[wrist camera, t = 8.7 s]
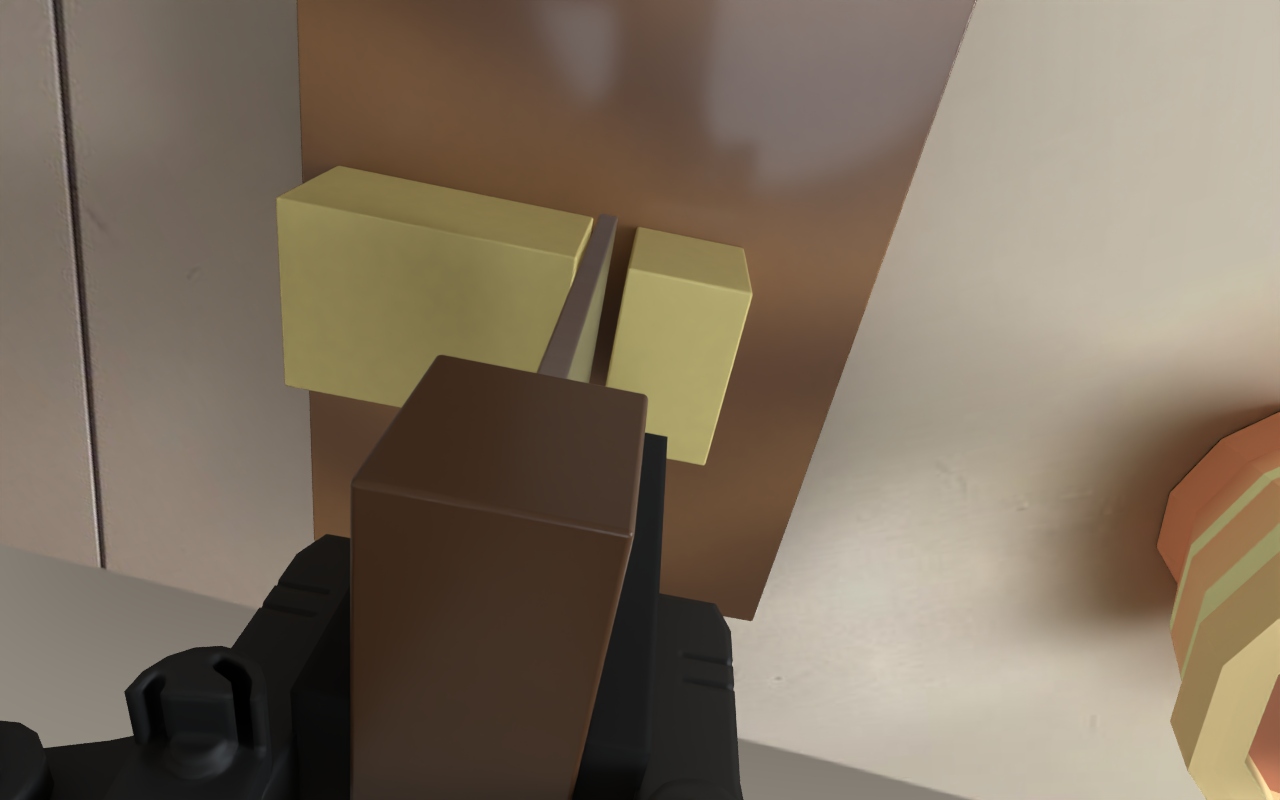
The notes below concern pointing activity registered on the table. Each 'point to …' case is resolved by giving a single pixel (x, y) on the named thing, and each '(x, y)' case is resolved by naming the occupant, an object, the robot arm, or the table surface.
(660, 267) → the butter pat
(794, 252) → the board
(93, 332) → the table surface
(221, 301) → the table surface
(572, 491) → the cleaver
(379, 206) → the butter
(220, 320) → the table surface
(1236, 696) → the potted cactus
